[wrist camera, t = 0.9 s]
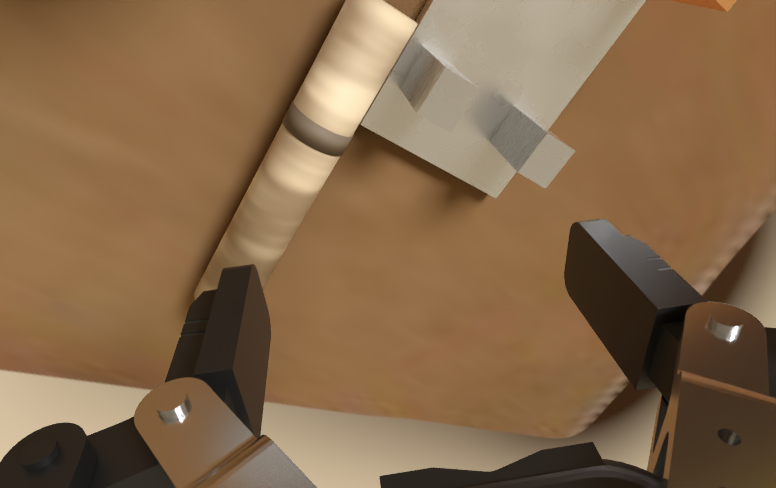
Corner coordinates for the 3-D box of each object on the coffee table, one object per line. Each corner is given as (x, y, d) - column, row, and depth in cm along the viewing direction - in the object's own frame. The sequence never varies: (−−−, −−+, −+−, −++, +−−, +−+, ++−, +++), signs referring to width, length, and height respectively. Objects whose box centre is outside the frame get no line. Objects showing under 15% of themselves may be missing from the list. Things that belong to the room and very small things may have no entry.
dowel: (236, 283, 34) (257, 322, 32) (185, 282, 31) (204, 324, 30) (391, 4, 26) (431, 33, 25) (341, -29, 24) (382, 1, 22)
